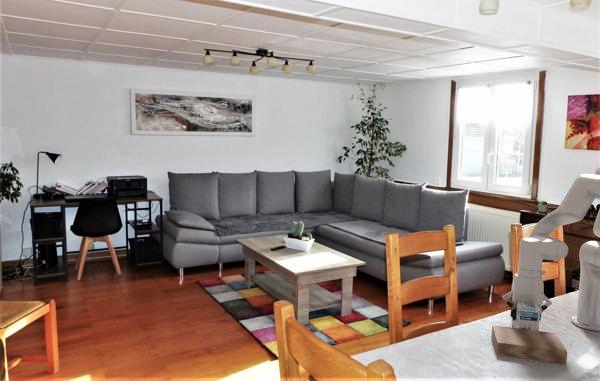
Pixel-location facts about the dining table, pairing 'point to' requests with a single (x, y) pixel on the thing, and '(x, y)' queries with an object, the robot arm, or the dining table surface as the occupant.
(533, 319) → the light bulb box
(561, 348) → the block
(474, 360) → the dining table surface
